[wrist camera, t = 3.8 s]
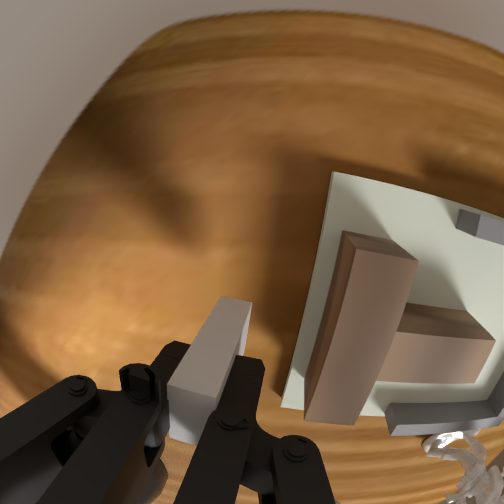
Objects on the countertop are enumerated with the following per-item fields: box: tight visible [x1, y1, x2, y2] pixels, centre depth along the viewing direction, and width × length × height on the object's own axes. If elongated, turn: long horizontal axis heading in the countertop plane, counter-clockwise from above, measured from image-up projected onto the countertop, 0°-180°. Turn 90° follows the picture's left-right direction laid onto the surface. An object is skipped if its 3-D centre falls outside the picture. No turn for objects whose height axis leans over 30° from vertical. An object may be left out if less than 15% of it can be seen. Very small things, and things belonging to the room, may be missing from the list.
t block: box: [304, 230, 496, 425], centre depth 15 cm, size 10×10×4 cm
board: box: [281, 172, 504, 436], centre depth 16 cm, size 20×16×3 cm
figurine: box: [422, 429, 504, 504], centre depth 14 cm, size 5×9×12 cm, turn 110°
